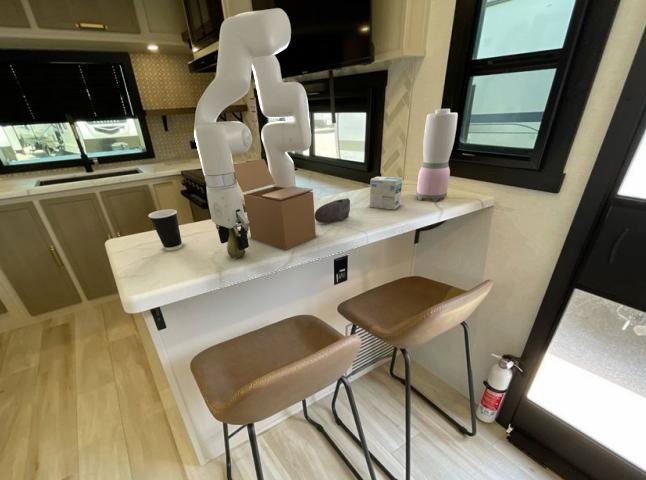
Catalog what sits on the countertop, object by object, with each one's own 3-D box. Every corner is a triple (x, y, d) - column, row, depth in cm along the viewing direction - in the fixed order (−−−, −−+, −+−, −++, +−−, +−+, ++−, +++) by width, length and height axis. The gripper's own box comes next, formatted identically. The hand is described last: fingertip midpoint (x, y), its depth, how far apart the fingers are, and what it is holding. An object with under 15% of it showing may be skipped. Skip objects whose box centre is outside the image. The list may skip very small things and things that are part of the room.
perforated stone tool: (318, 226, 107) (317, 206, 103) (311, 222, 111) (310, 203, 107) (355, 218, 112) (355, 199, 109) (347, 215, 116) (347, 196, 113)
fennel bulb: (239, 261, 86) (230, 218, 80) (224, 259, 87) (214, 218, 81) (249, 252, 91) (241, 212, 84) (234, 251, 92) (226, 211, 86)
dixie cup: (156, 248, 98) (144, 213, 92) (181, 240, 102) (170, 207, 97) (165, 254, 93) (153, 218, 87) (191, 246, 97) (180, 212, 92)
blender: (441, 202, 124) (456, 109, 107) (412, 199, 130) (421, 110, 113) (450, 193, 135) (465, 107, 118) (423, 191, 141) (433, 109, 124)
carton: (251, 238, 101) (242, 191, 93) (280, 227, 109) (275, 183, 101) (286, 249, 91) (280, 198, 83) (315, 236, 99) (312, 189, 91)
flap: (243, 191, 93) (242, 192, 94) (275, 183, 101) (274, 184, 101) (230, 165, 92) (229, 165, 92) (263, 158, 100) (263, 159, 100)
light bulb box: (400, 205, 123) (403, 177, 118) (394, 210, 119) (396, 180, 113) (375, 203, 128) (377, 175, 123) (369, 207, 124) (370, 179, 118)
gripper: (190, 180, 81) (206, 242, 90) (227, 187, 71) (242, 257, 80) (215, 174, 85) (228, 235, 95) (254, 180, 75) (264, 247, 84)
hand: (234, 245), depth 87 cm, fingers open, 8 cm apart
